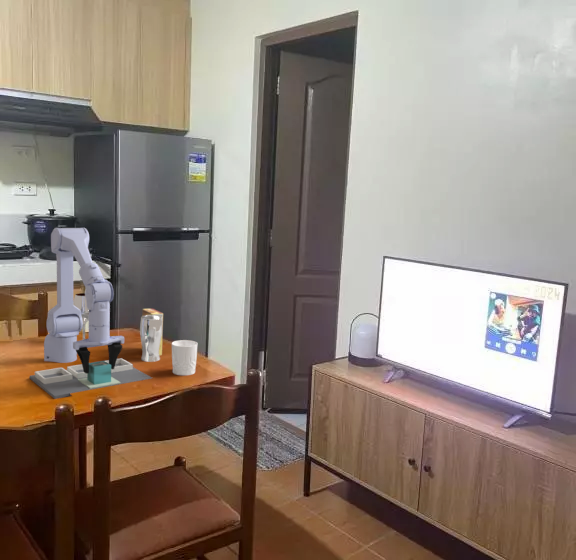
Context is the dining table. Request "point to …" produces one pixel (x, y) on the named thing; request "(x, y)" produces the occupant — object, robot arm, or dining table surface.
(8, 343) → the dining table surface
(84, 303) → the wineglass
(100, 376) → the teal letter cube
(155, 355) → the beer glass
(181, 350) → the white cup
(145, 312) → the candy box
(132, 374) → the organizer board
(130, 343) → the dining table surface
